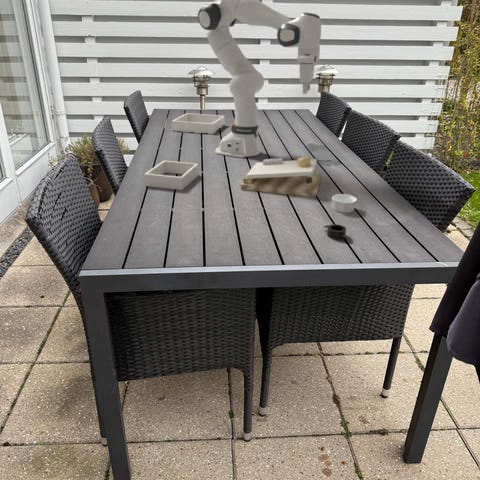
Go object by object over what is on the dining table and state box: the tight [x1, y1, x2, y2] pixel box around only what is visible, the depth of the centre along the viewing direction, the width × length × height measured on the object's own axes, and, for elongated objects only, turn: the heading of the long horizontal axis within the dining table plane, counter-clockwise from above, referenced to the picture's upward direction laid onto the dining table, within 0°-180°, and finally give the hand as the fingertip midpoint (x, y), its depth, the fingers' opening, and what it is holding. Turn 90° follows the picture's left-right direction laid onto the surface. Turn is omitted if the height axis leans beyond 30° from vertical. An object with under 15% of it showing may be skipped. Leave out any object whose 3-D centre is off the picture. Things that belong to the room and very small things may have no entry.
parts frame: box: [143, 160, 200, 191], centre depth 193 cm, size 16×20×5 cm
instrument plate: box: [246, 156, 318, 179], centre depth 189 cm, size 26×18×4 cm
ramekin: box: [331, 193, 358, 214], centre depth 169 cm, size 9×9×4 cm
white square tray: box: [171, 112, 226, 135], centre depth 282 cm, size 25×25×6 cm
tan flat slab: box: [240, 166, 322, 198], centre depth 192 cm, size 30×22×4 cm
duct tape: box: [322, 223, 351, 241], centre depth 149 cm, size 8×10×3 cm
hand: (306, 92), depth 196 cm, fingers open, 8 cm apart
